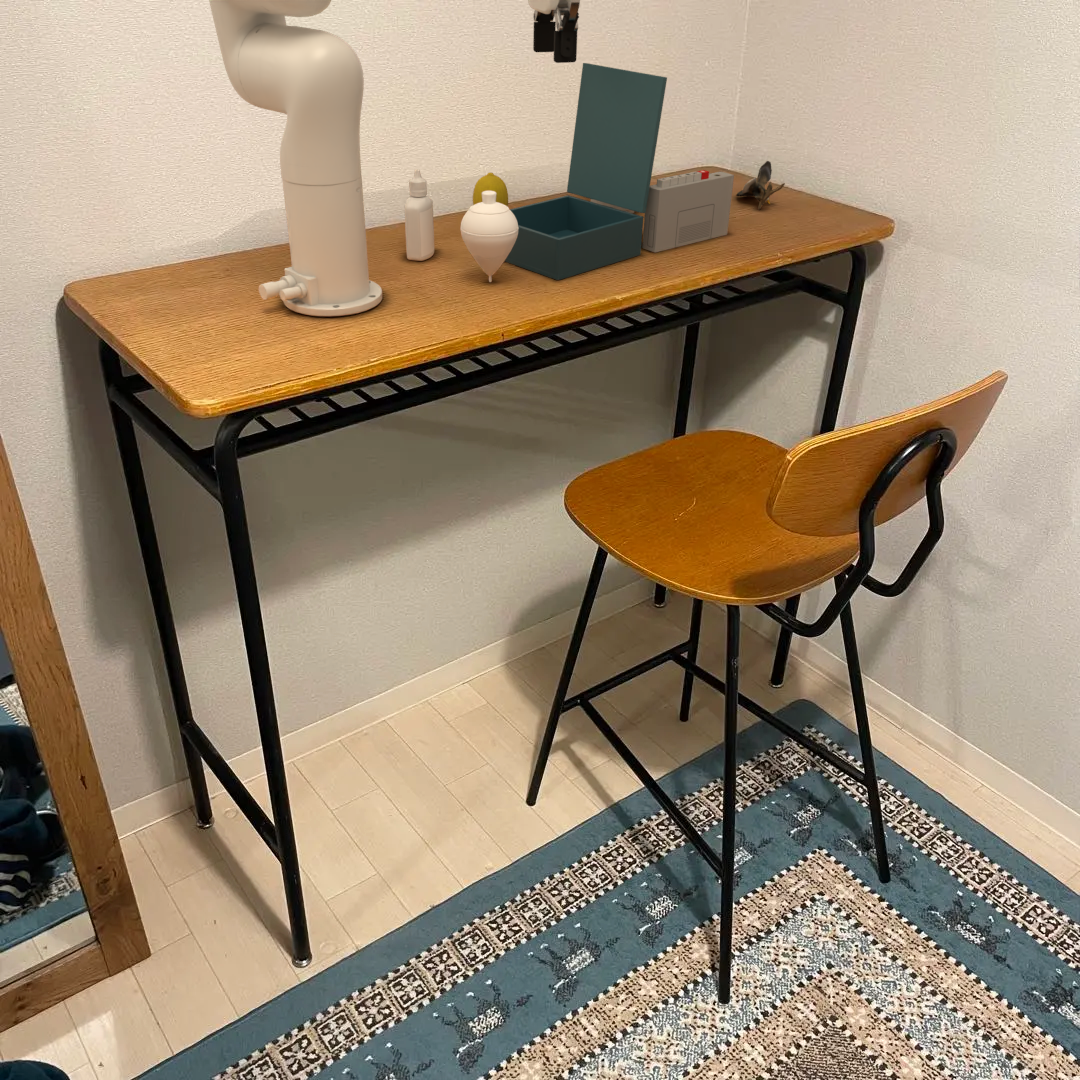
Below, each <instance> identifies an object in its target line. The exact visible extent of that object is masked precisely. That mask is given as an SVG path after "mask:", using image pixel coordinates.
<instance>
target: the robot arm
mask: <svg viewBox="0 0 1080 1080" xmlns="http://www.w3.org/2000/svg"><path fill="white" fill-rule="evenodd" d="M208 1H209V5H210V6H209V7H210V11H211V15H212V19H213V24H214V27H215V32H216V37H217V41H218V45H219V49H220V53H221V58H222V61H223V65H224V69H225V71H226V75H227V77H228V80H229V82H230V84H231V86H232V87H233V89H234V91H235V92H236V93H237V94H238V96H239V97H240V98H241V99H242V100H244V102H246V103H248V104H249V105H252V106H254V107H257V108H260V109H263V110H267V111H273V112H276V113H279V114H284V115H286V123H285V127H284V131H283V134H282V138H281V142H280V148H279V167H280V175H281V180H282V181H281V182H282V190H283V198H284V199H283V201H284V207H285V216H286V217H285V218H286V225H287V235H288V245H289V252H290V254H289V255H290V262H291V263H290V264H291V266H289V267H285V268H284V269H283V270H284V276H281V277H280V278H279V280H275V281H272V280H271V281H268V282H265V283H261V284H259V285H258V293H259V296H260V298H261V299H262V300H264V301H267V300H270V299H274V298H277V297H279V298H280V300H282V301H283V305H284V306H285V307H287V308H288V309H289V310H290V311H293V312H295V313H299V314H302V315H307V316H313V317H341V316H350V315H355V314H359V313H363V312H366V311H369V310H371V309H373V308H376V306H378V305H379V304H380V303H381V301H382V300H383V289H382V287H381V286H380V285H379V284H378V283H377V282H375V281H373V280H370V274H369V273H370V272H369V271H370V270H369V258H368V244H367V243H368V242H367V231H366V217H365V215H366V214H365V203H364V201H365V200H364V188H363V174H362V163H361V161H362V160H361V140H360V139H361V138H360V137H361V135H360V133H361V132H360V131H361V130H360V129H361V115H362V114H361V113H362V112H361V111H362V106H363V97H364V88H365V87H364V85H365V79H364V70H363V66H362V63H361V61H360V58H359V56H358V54H357V53H356V51H355V50H354V49H353V47H352V46H351V45H350V44H349V43H348V42H347V41H346V40H344V39H343V38H342V37H340V36H338V35H336V34H334V33H331V32H329V31H325V30H321V29H317V28H310V27H305V26H304V27H303V26H299V25H298V26H297V25H288V24H287V21H286V17H291V18H292V17H293V18H308V17H309V18H310V17H313V16H317V15H320V14H322V13H323V12H324V11H325V10H326V9H327V8H328V7H329V6H330V4H331V3H332V0H208ZM580 3H581V0H527V4H528V5H529V7H530V8H531V9H532V10H534V11H533V43H532V44H533V46H532V47H533V48H532V49H533V52H535V53H553V62H554V63H556V64H561V63H563V64H564V63H566V64H567V63H569V64H570V63H576V61H577V57H578V56H577V51H578V30H579V23H578V20H579V18H580V16H579V15H580V13H579V9H580Z"/></svg>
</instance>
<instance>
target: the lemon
mask: <svg viewBox="0 0 1080 1080" xmlns="http://www.w3.org/2000/svg"><path fill="white" fill-rule="evenodd" d="M483 191H495V192H496V202H498V203H501V204H504V205H506V206H507V207H508V208H509V193H508V188H507V185H506V183H505V182H504V180H503V179H502V178H500V177H499V176H498V175H496V174H494V173H493V172H488V173H487V174H484V175H483V176H481V177H479V179H478V180H477V181H476V183H475V185H474V188H473V192H472V206H473V205H475V204H477V203H480V202H483V201H482V192H483Z"/></svg>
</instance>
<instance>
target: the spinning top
mask: <svg viewBox="0 0 1080 1080" xmlns="http://www.w3.org/2000/svg"><path fill="white" fill-rule="evenodd" d="M482 201H483V202H480V203H477V204H475V205H473V204H472V205H471V206H470V207H469V209H467V211H466V212H465V213H464V215H463V217H462V218H461V222H460V235H461V238H462V241H463V243H464V245H465V247H466V249H467V251H468V252H469V254H470V255H471V256H472V258H473V259H474V261H475V262H476V264H477V265H478V266H479V268H480V269H481V270H482V272H483V273H485V275H487V276H488V283H492V281H493V280H492V279H493V278H492V277H493V275H495V274H496V273H497V271H498V270H499V269H500V267H501V266H502V265H503V264H504V262H505V259H506V258H507V256H508V255H509V253H510V252H511V250H512V248H513V246H514V244H515V241H516V239H517V236H518V222H517V219H516V217H515V216H514V214H513V213H512V212H511V210H510V209H511V208H509V206H508V207H507V206H506V205H504V204H501V203H498V202H496V192H495V191H483V192H482Z"/></svg>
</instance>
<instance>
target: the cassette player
mask: <svg viewBox="0 0 1080 1080" xmlns="http://www.w3.org/2000/svg"><path fill="white" fill-rule="evenodd" d="M734 179H735V174H731V173H728V172H726V171H716V172H712V173H711V172H710V171H709V170H706V169H701V170H695V171H691V172H687V173H682V174H681V173H680V174H676V175H671V176H666V177H661V178H657V179H656V184H652V185H651V184H650V188H649V194H648V200H647V206H646V213H644V216H643V230H642V244H641V249H644V250H646V251H649V252H651V253H659V252H663V251H667V250H671V249H674V248H679V247H682V246H688V245H691V244H694V243H699V242H703V241H708V240H711V239H715V238H719V237H723V236H727V235H728V231H729V224H730V223H729V222H730V214H731V205H732V197H733V188H734Z"/></svg>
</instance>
